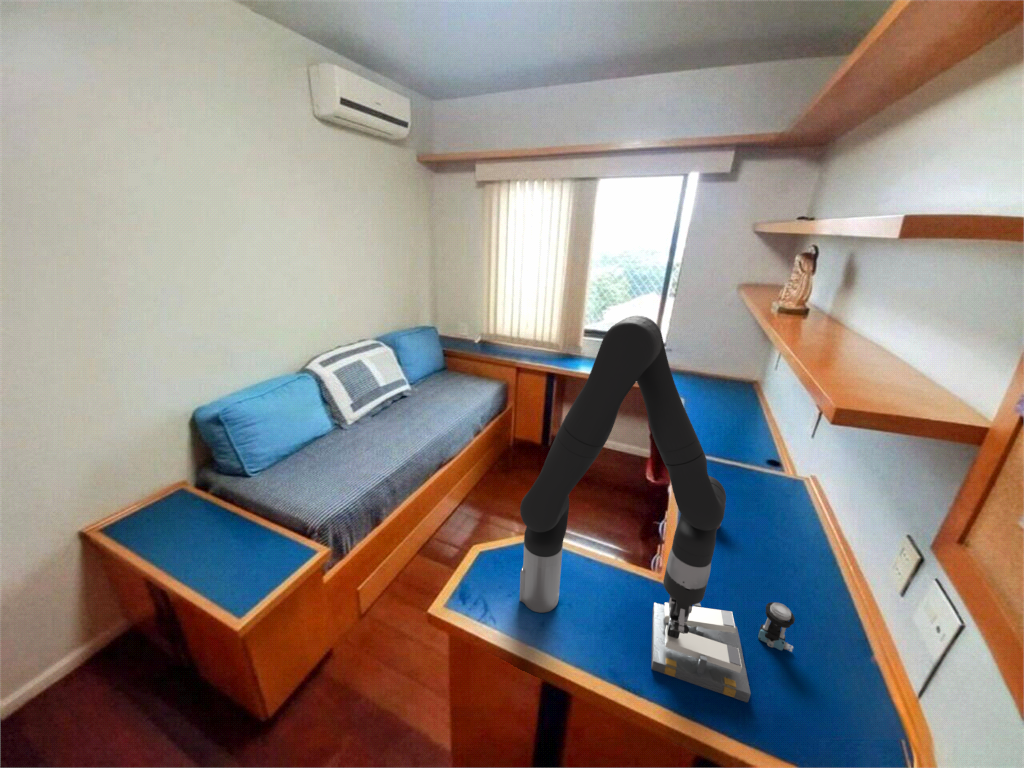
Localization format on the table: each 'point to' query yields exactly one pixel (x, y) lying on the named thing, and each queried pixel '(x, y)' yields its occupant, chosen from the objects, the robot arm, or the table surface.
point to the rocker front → (705, 650)
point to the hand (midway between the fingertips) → (672, 634)
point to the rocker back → (708, 619)
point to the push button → (776, 626)
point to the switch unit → (698, 660)
